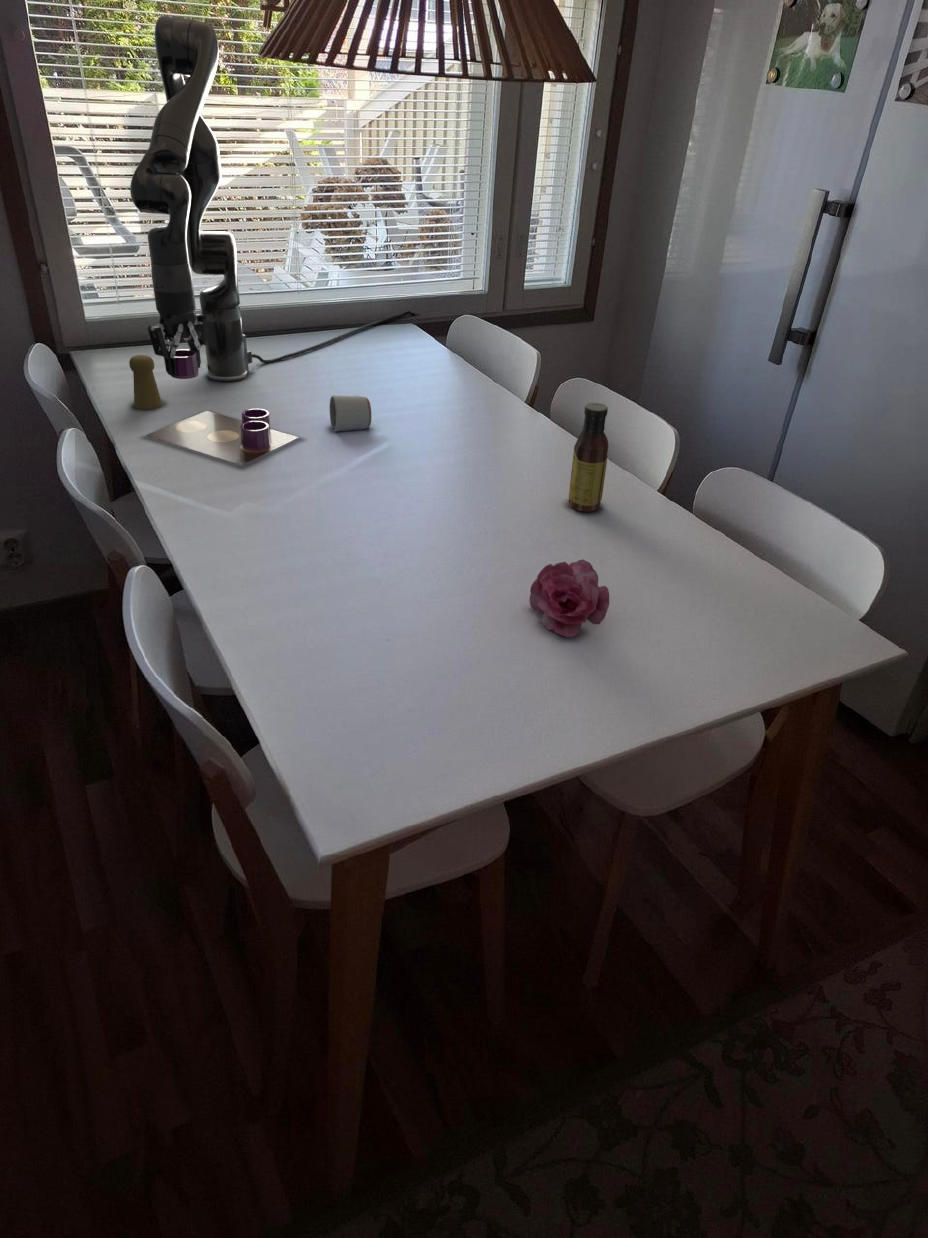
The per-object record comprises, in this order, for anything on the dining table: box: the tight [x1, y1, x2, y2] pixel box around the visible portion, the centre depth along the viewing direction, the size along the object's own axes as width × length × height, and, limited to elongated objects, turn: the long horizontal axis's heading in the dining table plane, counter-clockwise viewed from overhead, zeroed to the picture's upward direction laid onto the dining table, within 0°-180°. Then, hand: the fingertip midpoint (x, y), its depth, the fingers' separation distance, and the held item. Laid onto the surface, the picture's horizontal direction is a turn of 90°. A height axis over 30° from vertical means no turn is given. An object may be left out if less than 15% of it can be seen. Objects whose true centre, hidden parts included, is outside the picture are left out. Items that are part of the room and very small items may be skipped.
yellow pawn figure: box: [128, 354, 163, 410], centre depth 191 cm, size 6×6×11 cm
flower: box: [529, 559, 610, 639], centre depth 127 cm, size 11×10×10 cm
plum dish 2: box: [241, 408, 272, 433], centre depth 181 cm, size 6×6×4 cm
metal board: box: [145, 410, 300, 466], centre depth 180 cm, size 18×26×1 cm
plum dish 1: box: [171, 348, 200, 380], centre depth 176 cm, size 6×6×4 cm
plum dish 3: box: [240, 421, 270, 451], centre depth 175 cm, size 6×6×4 cm
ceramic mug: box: [329, 394, 372, 432], centre depth 187 cm, size 11×8×8 cm
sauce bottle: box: [568, 402, 609, 513], centre depth 157 cm, size 6×6×20 cm
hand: (184, 370), depth 177 cm, fingers closed on plum dish 1, 5 cm apart
